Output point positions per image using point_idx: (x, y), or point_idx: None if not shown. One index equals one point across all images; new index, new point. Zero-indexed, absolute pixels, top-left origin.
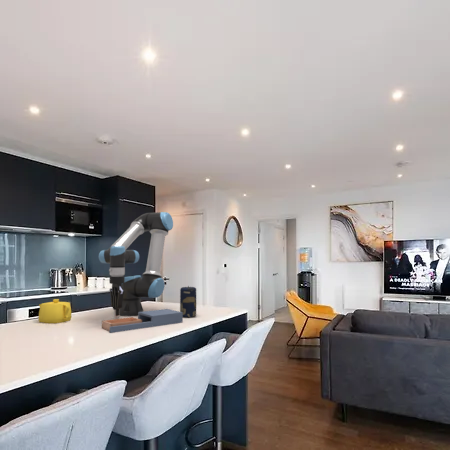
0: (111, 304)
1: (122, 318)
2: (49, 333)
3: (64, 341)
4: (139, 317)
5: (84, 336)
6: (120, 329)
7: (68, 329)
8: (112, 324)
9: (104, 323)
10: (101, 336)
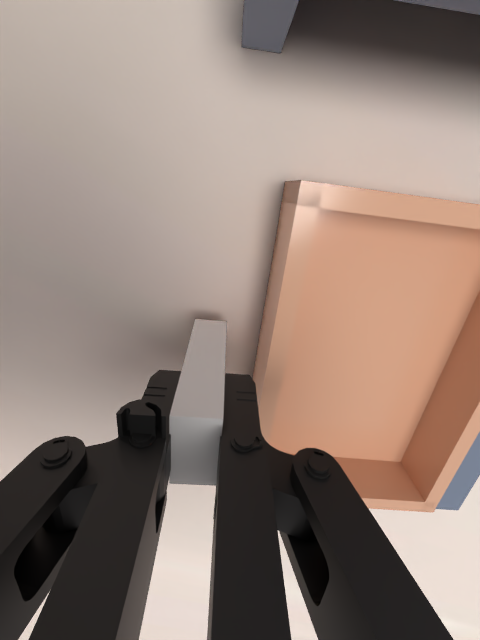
0: (42, 554)
1: (287, 333)
2: (174, 625)
3: None
4: (293, 11)
5: None
6: None
7: None
8: (434, 497)
9: None
10: (456, 531)
